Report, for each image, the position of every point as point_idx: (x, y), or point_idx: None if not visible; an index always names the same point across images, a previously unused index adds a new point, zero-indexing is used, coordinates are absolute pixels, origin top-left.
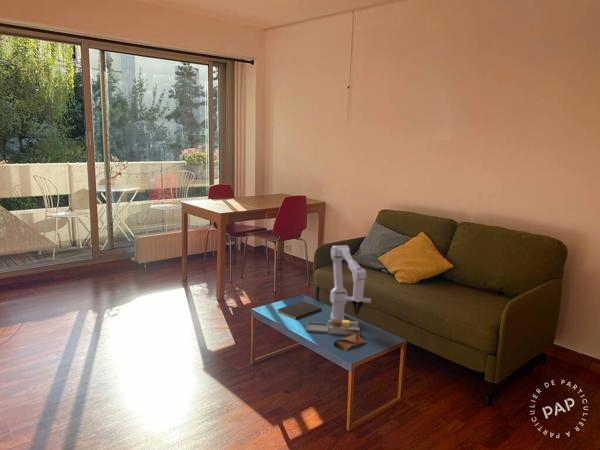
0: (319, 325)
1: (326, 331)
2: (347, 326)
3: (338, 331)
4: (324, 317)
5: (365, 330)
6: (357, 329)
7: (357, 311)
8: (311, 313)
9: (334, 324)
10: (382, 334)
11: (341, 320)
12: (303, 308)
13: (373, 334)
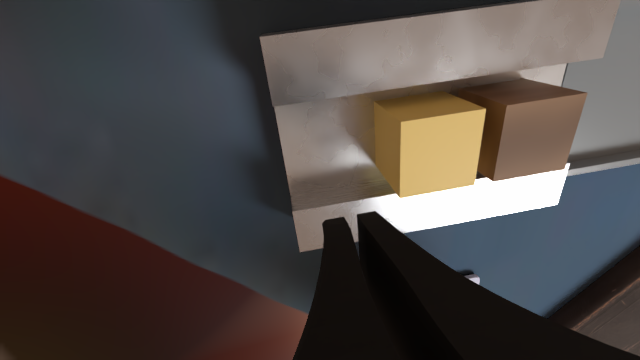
0: (592, 144)
1: None
2: (404, 106)
3: (491, 5)
4: (511, 284)
5: (223, 185)
6: (291, 43)
7: (354, 250)
8: (582, 299)
9: (548, 89)
10: (43, 152)
11: (448, 222)
12: (624, 326)
13: (130, 123)
